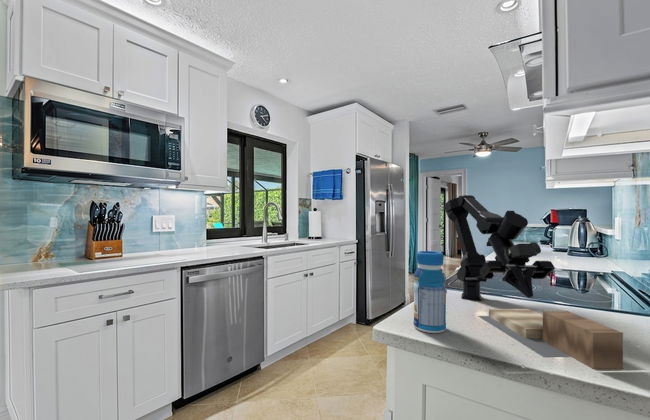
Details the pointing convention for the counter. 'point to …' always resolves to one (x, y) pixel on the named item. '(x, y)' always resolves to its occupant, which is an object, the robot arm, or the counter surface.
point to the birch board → (520, 321)
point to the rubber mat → (528, 340)
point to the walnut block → (584, 339)
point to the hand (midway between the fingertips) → (530, 297)
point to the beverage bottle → (430, 293)
